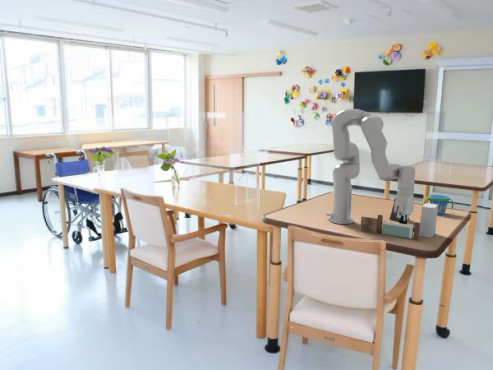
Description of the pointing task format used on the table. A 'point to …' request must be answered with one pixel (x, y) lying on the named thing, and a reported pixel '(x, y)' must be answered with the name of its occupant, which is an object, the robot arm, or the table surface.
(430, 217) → the skincare box
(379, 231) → the gate posts
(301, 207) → the table surface
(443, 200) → the snack cup
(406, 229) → the gate
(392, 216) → the door stopper
